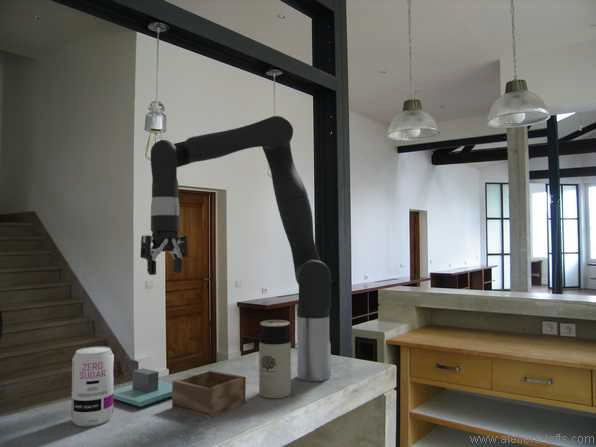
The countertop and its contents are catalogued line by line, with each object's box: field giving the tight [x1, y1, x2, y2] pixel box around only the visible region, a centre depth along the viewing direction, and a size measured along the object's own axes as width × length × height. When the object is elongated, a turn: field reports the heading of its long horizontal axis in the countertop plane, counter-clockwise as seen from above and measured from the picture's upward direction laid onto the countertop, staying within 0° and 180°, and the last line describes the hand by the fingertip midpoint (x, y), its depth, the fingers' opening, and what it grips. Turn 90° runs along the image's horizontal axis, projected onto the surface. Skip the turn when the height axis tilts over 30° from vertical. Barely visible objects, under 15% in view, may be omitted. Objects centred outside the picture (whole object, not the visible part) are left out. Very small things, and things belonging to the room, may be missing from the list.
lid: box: [113, 367, 172, 407], centre depth 116 cm, size 13×13×7 cm
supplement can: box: [70, 346, 115, 427], centre depth 101 cm, size 8×8×15 cm
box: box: [171, 369, 247, 419], centre depth 111 cm, size 12×12×6 cm
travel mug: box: [258, 319, 292, 400], centre depth 119 cm, size 8×8×18 cm
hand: (164, 273), depth 128 cm, fingers open, 8 cm apart
